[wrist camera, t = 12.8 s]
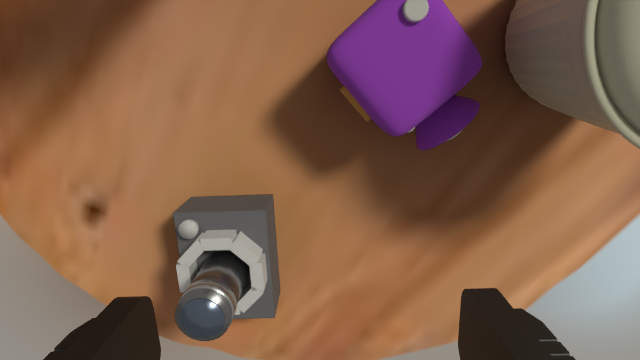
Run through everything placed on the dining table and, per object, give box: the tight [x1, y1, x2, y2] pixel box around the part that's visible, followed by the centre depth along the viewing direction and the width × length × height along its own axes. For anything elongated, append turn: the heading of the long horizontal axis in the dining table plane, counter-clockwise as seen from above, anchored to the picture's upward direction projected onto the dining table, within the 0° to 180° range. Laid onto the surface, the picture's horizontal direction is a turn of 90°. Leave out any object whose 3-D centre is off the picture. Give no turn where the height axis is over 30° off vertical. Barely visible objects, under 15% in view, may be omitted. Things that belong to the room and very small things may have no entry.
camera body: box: [173, 194, 280, 319], centre depth 39 cm, size 12×9×7 cm
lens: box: [175, 250, 249, 341], centre depth 33 cm, size 5×5×8 cm
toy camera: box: [327, 0, 482, 150], centre depth 32 cm, size 11×14×10 cm
